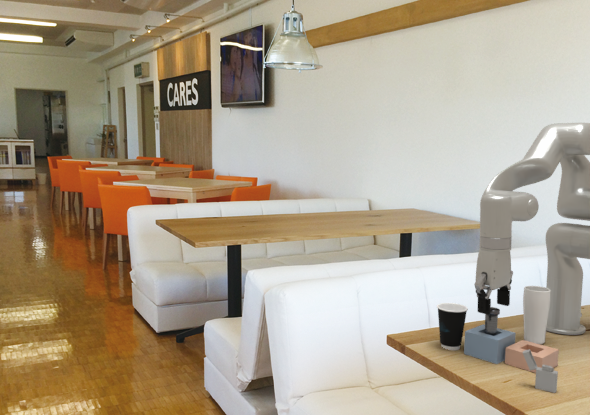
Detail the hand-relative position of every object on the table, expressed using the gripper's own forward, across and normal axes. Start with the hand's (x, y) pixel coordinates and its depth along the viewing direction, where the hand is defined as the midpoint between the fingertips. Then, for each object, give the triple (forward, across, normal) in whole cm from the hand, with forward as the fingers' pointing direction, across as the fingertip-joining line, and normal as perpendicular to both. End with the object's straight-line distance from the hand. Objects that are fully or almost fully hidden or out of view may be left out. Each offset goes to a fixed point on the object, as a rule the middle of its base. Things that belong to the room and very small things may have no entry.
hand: (493, 308), depth 138 cm
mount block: (+12, 0, +10) cm, 16 cm away
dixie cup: (+12, +4, -10) cm, 16 cm away
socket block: (+12, +2, 0) cm, 12 cm away
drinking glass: (+13, -17, +3) cm, 22 cm away
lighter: (+12, +12, +17) cm, 24 cm away
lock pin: (+12, +1, 0) cm, 12 cm away
